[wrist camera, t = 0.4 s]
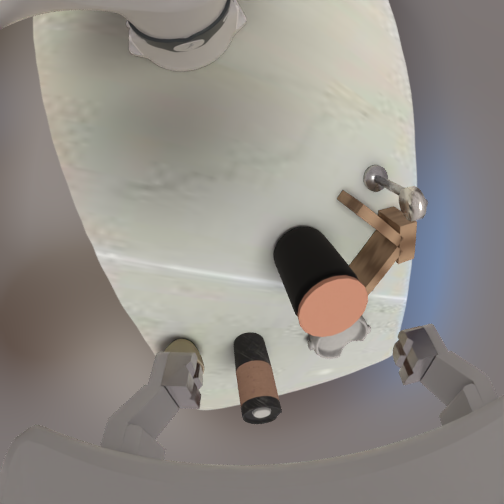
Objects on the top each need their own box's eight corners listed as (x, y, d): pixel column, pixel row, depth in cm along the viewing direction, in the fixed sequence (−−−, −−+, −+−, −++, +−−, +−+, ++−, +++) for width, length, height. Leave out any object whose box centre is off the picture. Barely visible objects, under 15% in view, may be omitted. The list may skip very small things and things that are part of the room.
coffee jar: (284, 282, 56) (310, 347, 40) (263, 239, 51) (287, 301, 35) (331, 259, 55) (372, 316, 39) (316, 214, 50) (361, 265, 34)
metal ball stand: (362, 167, 46) (418, 194, 32) (384, 163, 46) (442, 188, 32) (364, 192, 49) (417, 227, 34) (385, 187, 49) (440, 219, 34)
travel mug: (227, 338, 61) (235, 413, 44) (258, 327, 61) (275, 402, 43) (240, 357, 65) (251, 427, 47) (269, 346, 64) (287, 416, 47)
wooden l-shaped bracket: (335, 191, 48) (356, 206, 41) (393, 179, 48) (417, 191, 41) (342, 279, 57) (358, 301, 50) (392, 262, 58) (411, 281, 51)
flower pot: (211, 340, 61) (212, 364, 55) (192, 363, 64) (192, 386, 58) (171, 324, 57) (168, 348, 51) (155, 350, 60) (152, 373, 54)
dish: (369, 314, 65) (378, 327, 60) (335, 350, 69) (341, 364, 65) (331, 296, 60) (339, 310, 55) (295, 337, 64) (300, 352, 60)
